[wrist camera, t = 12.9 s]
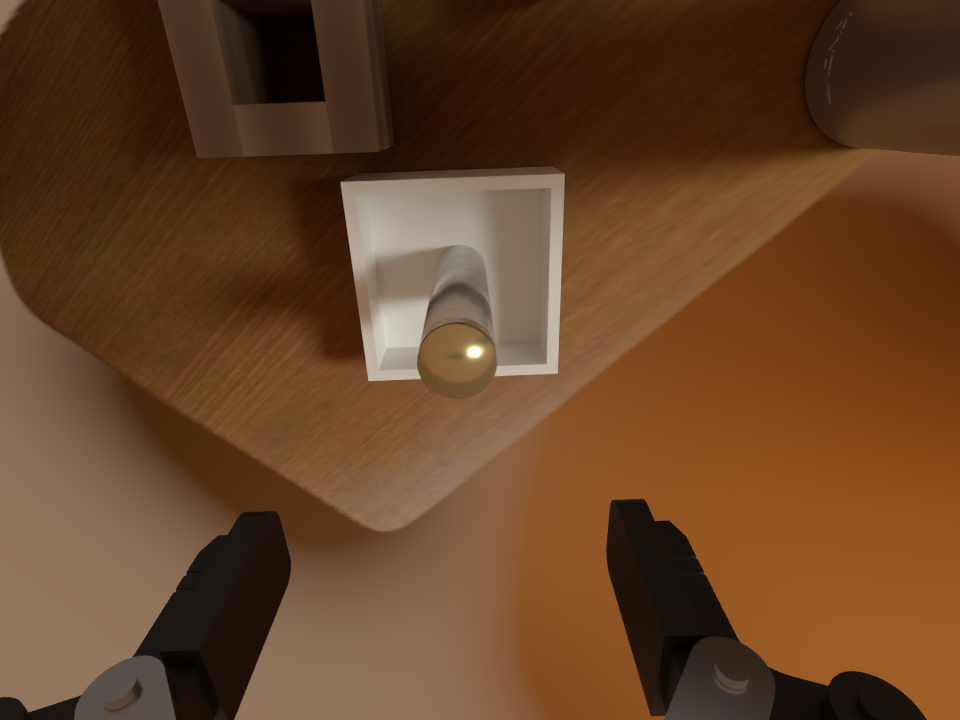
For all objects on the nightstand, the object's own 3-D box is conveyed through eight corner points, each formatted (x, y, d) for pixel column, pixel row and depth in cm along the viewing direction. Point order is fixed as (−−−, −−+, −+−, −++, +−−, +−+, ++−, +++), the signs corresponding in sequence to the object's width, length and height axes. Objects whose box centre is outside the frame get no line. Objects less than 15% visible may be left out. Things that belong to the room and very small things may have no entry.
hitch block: (377, -40, 27) (354, -79, 22) (394, 145, 31) (379, 151, 25) (205, -34, 27) (139, -72, 22) (244, 151, 31) (197, 158, 25)
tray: (552, 166, 32) (564, 173, 28) (547, 345, 37) (557, 373, 33) (356, 173, 31) (340, 182, 27) (379, 351, 37) (368, 380, 33)
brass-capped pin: (485, 244, 33) (496, 325, 20) (486, 292, 34) (497, 397, 21) (434, 246, 32) (413, 328, 20) (437, 294, 34) (420, 400, 21)
